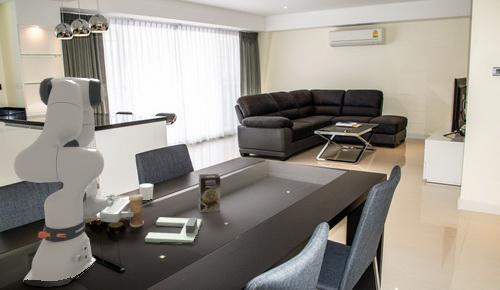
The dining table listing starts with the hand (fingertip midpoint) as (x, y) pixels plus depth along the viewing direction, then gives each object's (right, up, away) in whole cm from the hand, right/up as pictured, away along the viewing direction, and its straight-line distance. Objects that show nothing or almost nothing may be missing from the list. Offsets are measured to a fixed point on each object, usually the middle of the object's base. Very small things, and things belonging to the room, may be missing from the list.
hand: (137, 209), depth 161 cm
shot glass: (-4, 0, +31) cm, 31 cm away
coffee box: (+27, -3, +20) cm, 34 cm away
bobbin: (-1, -6, +1) cm, 7 cm away
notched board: (+16, -8, -4) cm, 18 cm away
